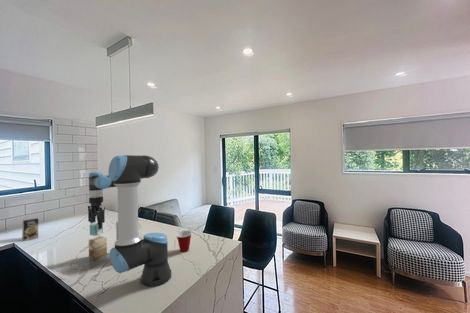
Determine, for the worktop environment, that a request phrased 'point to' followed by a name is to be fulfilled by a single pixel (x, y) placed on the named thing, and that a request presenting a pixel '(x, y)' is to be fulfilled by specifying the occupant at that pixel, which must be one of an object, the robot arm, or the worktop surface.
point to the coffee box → (30, 229)
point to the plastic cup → (184, 240)
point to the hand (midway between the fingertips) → (96, 233)
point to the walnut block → (98, 254)
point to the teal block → (94, 229)
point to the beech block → (97, 243)
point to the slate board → (92, 262)
